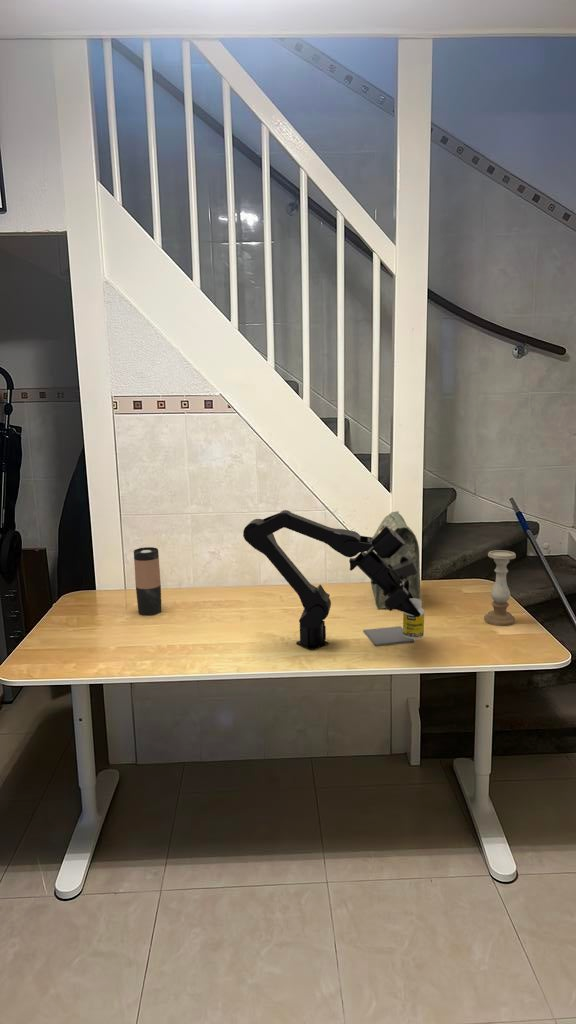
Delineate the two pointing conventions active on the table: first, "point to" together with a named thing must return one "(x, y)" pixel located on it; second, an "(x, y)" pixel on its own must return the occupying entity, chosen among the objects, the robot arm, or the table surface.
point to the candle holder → (500, 590)
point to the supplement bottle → (414, 622)
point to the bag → (400, 555)
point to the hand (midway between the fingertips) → (419, 612)
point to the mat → (387, 636)
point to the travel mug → (147, 580)
